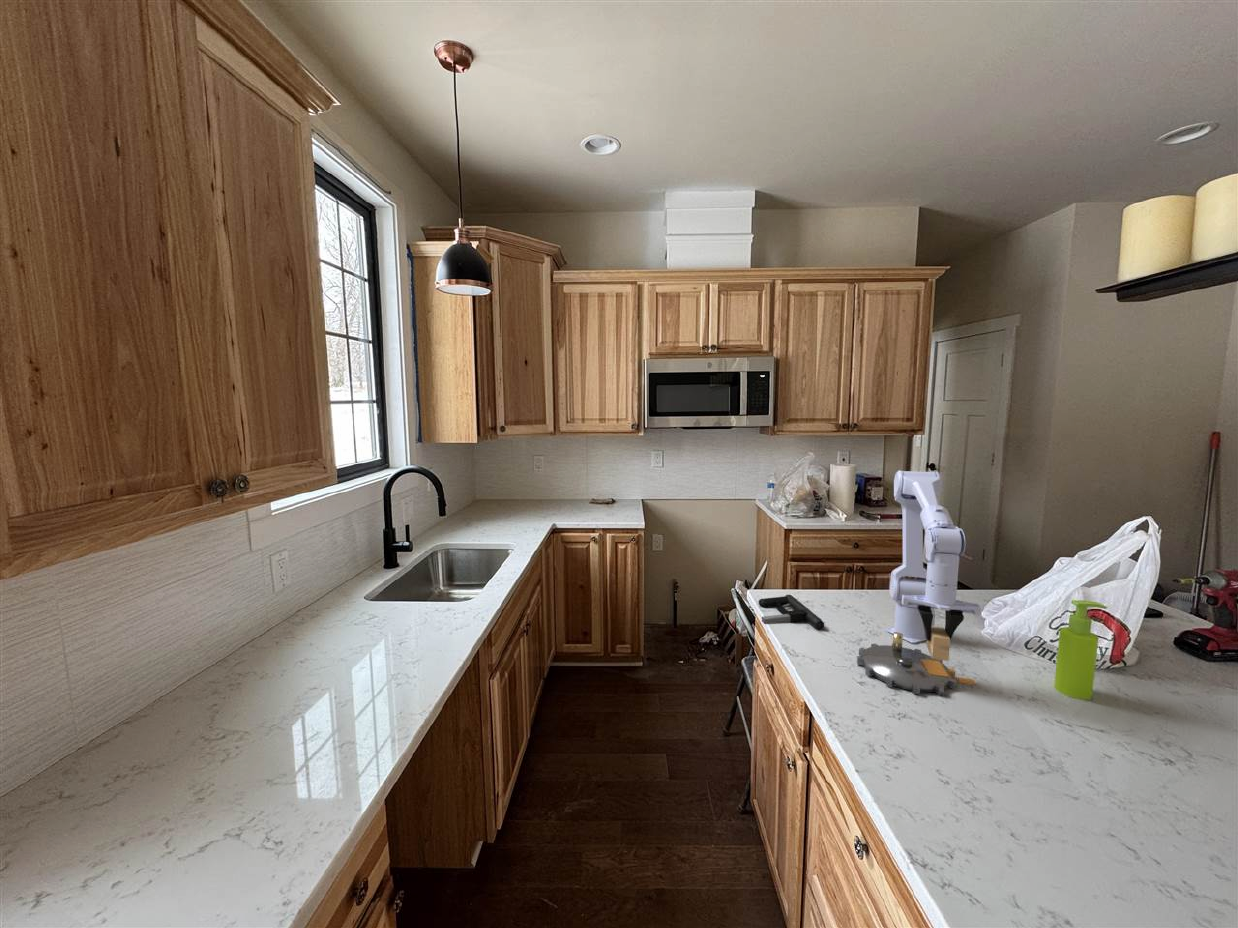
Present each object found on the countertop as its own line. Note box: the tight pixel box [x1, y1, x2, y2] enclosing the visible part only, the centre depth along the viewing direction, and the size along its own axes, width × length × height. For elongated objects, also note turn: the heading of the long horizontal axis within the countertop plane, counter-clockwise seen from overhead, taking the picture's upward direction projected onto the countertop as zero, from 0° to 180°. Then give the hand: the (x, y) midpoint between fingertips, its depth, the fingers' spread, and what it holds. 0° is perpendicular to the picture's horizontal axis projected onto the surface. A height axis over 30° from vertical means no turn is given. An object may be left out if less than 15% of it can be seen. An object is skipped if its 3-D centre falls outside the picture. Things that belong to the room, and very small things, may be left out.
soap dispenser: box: [1053, 599, 1108, 701], centre depth 102 cm, size 6×7×20 cm
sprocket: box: [856, 632, 957, 696], centre depth 111 cm, size 20×20×6 cm
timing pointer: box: [957, 676, 976, 685], centre depth 107 cm, size 3×1×1 cm, turn 68°
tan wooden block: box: [926, 625, 951, 662], centre depth 108 cm, size 6×3×5 cm, turn 158°
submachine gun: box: [758, 594, 826, 631], centre depth 142 cm, size 3×20×16 cm
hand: (937, 640), depth 109 cm, fingers closed on tan wooden block, 3 cm apart
